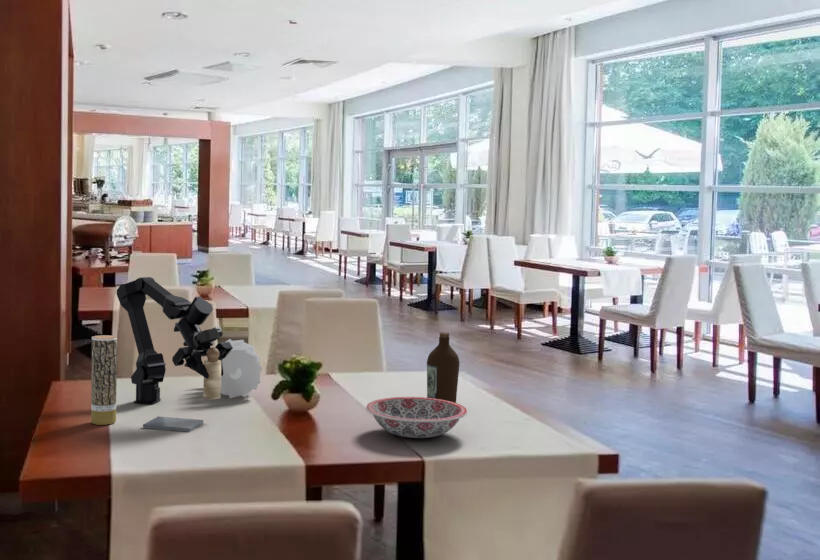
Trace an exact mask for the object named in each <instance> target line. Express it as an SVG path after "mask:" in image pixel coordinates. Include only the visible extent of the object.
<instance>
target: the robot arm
mask: <svg viewBox="0 0 820 560" xmlns="http://www.w3.org/2000/svg"><path fill="white" fill-rule="evenodd" d="M147 296H148V297H149V298H150V299H152V300H153V301H154V302H155V303H157V304H158V305H159V306H161V308H162V313H163V314H164V315H165V316H166V317H167V318H168V319H169V320H170V321H171V320H178V322H175V325H174V328H173V332H175V333H177V332H179V333H180V335H181V336H182V338H183V341H184V342H183V343H182V345H183V346H184V347H179V348H178V349H177V350H176V352H175V354H173V356H172V359H171V360H172V361H171V362H172V363H173V365H174V366H175V367H179V366H183V365H184V367H187V368H189V369H191V370H192V371H195V372H196V373H198V374H199V375H201V376H202V377H203V378H204V377H205V378H206V379H207V378H208V377H209V375H208V372H207V370H206V368H205V366H204V361H202V357H207V355H206V353H207V350H208V349H210V348H211V347H213V345H214V343H215V342H214V341H217V340H220V339H221V338H222V337H223V334H224V333H223V330H222V328H221V327H220V326H215V327H212V328H208V329H204V330H202V329H201V327H200V326H201V325H203V324H204V323H205V322H206V320H207V319H208V317H210V315H211V313H213V310H214V309H213V305H212V304H211V303H210V302H209V301H207V300H205V299H203V298H202V296H195V297H194V298H193V300H192V302H191V301H190V300H188V299H186V298H185V297H181V296H177V295H174V294H173V293H171V292H170V291H168V289H166V288H164V287H163V286H162V285H161V284H159V283H158V282H157V281H156V280H155V279H154V278H153V277H151V276H148V277H147V276H145V277H138V278H137V279H135V280H132V281H130V282H126V283H122V284H121V283H120V285H119V286H118V288H117V289H116V297H117V300H118V302H119V305H120V306H121V307H122V308H123V309H124V311H126V312H127V314H128V318H129V321H130V326H131V330H132V333H133V337H134V338H133V339H134V342H135V346H136V349H137V353H138V356H137V358H136V362H135V365H136V366H135V367H136V369H135V371H134V372H132V375H131V376H130V380H131V384H134V385H135V400H134V401H133V403H134V404H144V405H145V404H146V405H154V404H156V403H157V402H160V401H161V400H162V398H161V393H160V392H161V387H159V385H160V384H159V383H163V382H164V380H165V379H164V377H165V374H166V371H167V369H166V365H167V364H166V363H165V360H164V359H165V358H164V355H163V354H162V353H158V352H157V351H156V350H155V346H154V343H153V339H152V336H151V331H150V328H149V325H148V320H147V317H146V313H145V310H144V309H145V308H144V307H145V304H146V301H147ZM214 348H216V349H218V351H219V357H218V360H221V376H223V374H224V373H223V365H222V359H224V358H225V357H226V356H227V355H228V354H229V352H230V351H231V350H232V349H233V347H232V346H231V344H230V342H226V341H224V342H223V341H222V342H218V343H217V344H216V346H215V347H214Z"/></svg>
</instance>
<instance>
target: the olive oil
mask: <svg viewBox="0 0 820 560" xmlns="http://www.w3.org/2000/svg"><path fill="white" fill-rule="evenodd" d="M459 372H460V358H459V355H458V353H456V351H455V350H454V349H453V347H452V346H451V345H450V332H445V331H442V332H439V337H438V345H437V346H436V347H434V349H432V350H431V352H430V353H429V354H428V357H427V359H426V398H435V399H442V400H447V401H451V402H455V403H457V397H458V396H457V394H458V393H457V392H458V385H459V384H458V383H459Z"/></svg>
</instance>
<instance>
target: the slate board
mask: <svg viewBox="0 0 820 560" xmlns="http://www.w3.org/2000/svg"><path fill="white" fill-rule="evenodd" d="M203 424H204V419H196V418H195V419H193V418H182V417H168V416H160V415H159V416H156V417H155V418H153V419H151V420H149V421H147V422H145V423H143V424H142V428H143V427H144V428H143V429H149V428H151V429H152V430H161V431H162V430H163V431H164V430H165V431H173V430H174V432H175V431H177V432H185V431H186V433H188V432H189V433H190V432H192V431H194V430H195V429H196V428H198V427H200V426H201V425H203Z"/></svg>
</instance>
